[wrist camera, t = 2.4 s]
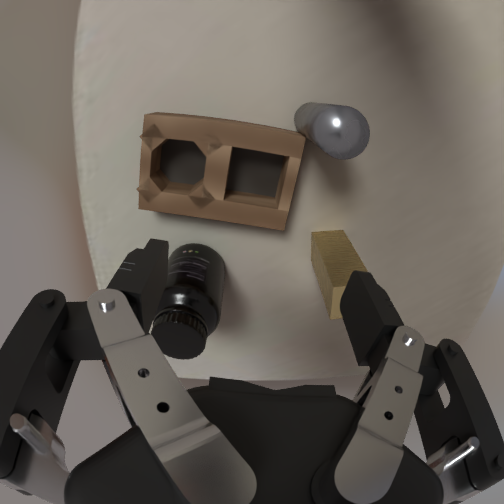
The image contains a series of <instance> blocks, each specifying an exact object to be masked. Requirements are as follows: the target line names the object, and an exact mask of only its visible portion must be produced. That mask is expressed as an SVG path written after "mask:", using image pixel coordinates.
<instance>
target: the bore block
mask: <svg viewBox="0 0 504 504" xmlns="http://www.w3.org/2000/svg"><path fill="white" fill-rule="evenodd" d="M140 138H141V139H142V146H141V160H140V179H139V187H138V188H137V190H138V191H139V209H142V210H150V211H157V212H164V213H172V214H179V215H186V216H193V217H200V218H206V219H213V220H220V221H226V222H233V223H239V224H246V225H252V226H258V227H265V228H271V229H277V230H283V231H284V228H285V224H286V220H287V216H288V212H289V208H290V204H291V199H292V195H293V191H294V187H295V183H296V179H297V174H298V170H299V166H300V162H301V157H302V153H303V149H304V144H305V140H306V137H305V136H304V135H302V134H301V133H299V132H295V131H290V130H285V129H281V128H276V127H270V126H265V125H259V124H254V123H248V122H241V121H235V120H228V119H221V118H213V117H205V116H196V115H185V114H174V113H160V112H155V113H150V114H145V115H144V124H143V134H142V135H140Z"/></svg>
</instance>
